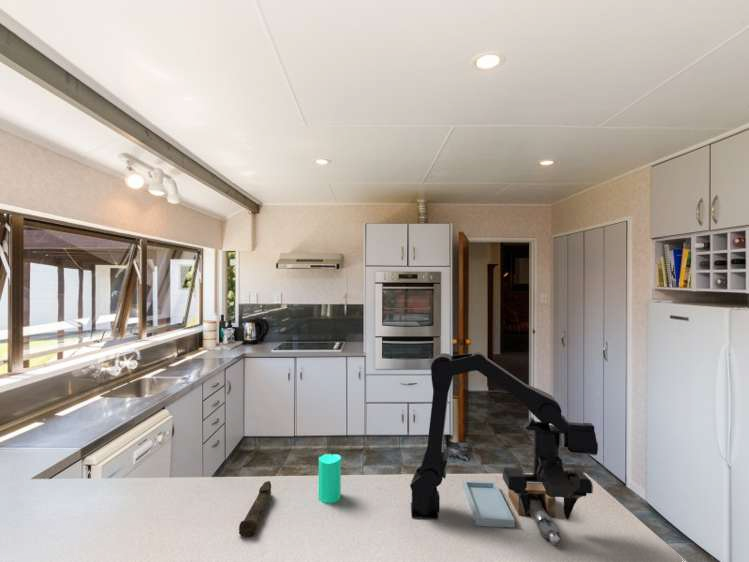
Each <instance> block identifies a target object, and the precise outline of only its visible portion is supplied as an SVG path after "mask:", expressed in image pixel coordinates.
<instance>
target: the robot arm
mask: <svg viewBox="0 0 749 562" xmlns="http://www.w3.org/2000/svg"><path fill="white" fill-rule="evenodd" d="M475 371H477V372H479V373H480V374H482V375H483V376H484V377H486V378H487V379H489V380H490V381H491V382H493V383H494V384H496V385H497V386H499V387H500V388H501V389H503V390H505V391H506V392H507V393H508V394H510V395H512V396H513V397H514V398H516V399H518V401H520V402H521V403H522V404H523V405H524V407H525V408H526V409H527V410H528V411H529V412H530V413H531V414H532V415H534V417H535V418H536V419H538V420H539V421H537V420H535V419H534V418H533V417H530V418H529V419H528V420H527V421H525V422H524V423H523V424H524V427H525V430H526V431H532V448H531V454H532V465H531V471H532V473H524V472H523V471H522V470H521V468H519V467H518V468H517V467H516V468H515V467H505V468H504V469H503V470H502V480H503V482H504V483H505V486H506V487H507V489H510V490H513V491H514V493H516V494H518V497H519V500H520V503H521V506H522V509H523V511H524V514H525V515H524V516H525V518H528V517H529V512H528V504H527V495H528V492H527V490H526V488H527V483H528V484H543V486H544V488H545V490H546V494H547V495H548V496H549V497H552V498H555V499H556V498H563V514H564V517H565V519H566V520H569V519H570V517H571V514H572V512H573V509H574V507H575V505H576V503H577V501H578V500H579V499H581V498H582V497H586V496H587V495H588V494H593V493H594V484H593V482H592V480H591V479H590V478H589V477H588V476H586V474H585V473H583V472H582V471H581V470H575V469H574V470H571V469H566V470H564V466H563V459H562V458H561V457H560V453H561V450H560V445H562V448H566V450H567V452H568V453H570V454H580V455H585V456H586V455H589V456H597V455H598V450H599V443H598V442H597V441H598V440H597V436H596V432H595V426H594V424H593V423H592V422H583V423H582V422H581V423H580V422H573V421H572V422H571V421H568V419H567V418H566V417H565V416H564V415H562V408H561V406H560V404H559V403H558V401H557V400H556V398H555V397H554V396H553V395H552V394H550V393H547V392H546V391H543V390H541V389H539V388H537V387H534V386H531V385H529V384H527V383H525V382H523V381H522V380H520V379H518V378H519V377H516V376H515V375H513V374H512V373H510V372H509V371H508V370H506V369H505V368H504V367H501V366H500V365H498V364H497V363H495V362H494V361H493V360H491V359H489V357H487V356H486V355H485V354H484V353H482V352H480V351H475V352H471V353H462V354H461V353H460V354H454V355H451V354H450V353H443V352H442V353H440V354H438V355H437V356H436V357H435V358H434V359H433V361H432V362H431V365H430V376H431V377H430V378H431V385H432V391H433V392H432V401H431V410H430V419H429V428H428V429H429V430H428V437H427V446H426V450H425V452H424V456H423V458H422V459H423V460H422V462H421V465H420V466H419V467H418V468H416V469H415V471H414V474H413V476H412V480H411V483H410V484H409V486H410V490H411V502H410V511H411V512H410V513H411V518H412V519H425V520H426V519H429V520H433V519H434V520H438V519H439V513H440V510H441V508H440V507H441V506H440V501H441V499H440V497H441V496H440V493H439V491H438V487H439V486H440V485H442V481H443V479H445V480H446V478H447V477H446V476H447V472H448V467H449V466H448V459H449V454H450V453H449V451H444V438H445V437H444V436H445V428H446V427H445V426H446V419H447V410H448V409H447V408H448V401H449V391H450V389H451V385H452V382H453V378H454V376H458V375H461V374H466V373H470V372H475ZM550 424H551V425H550ZM560 438H561V439H560ZM560 441H561V442H560ZM560 443H561V444H560Z"/></svg>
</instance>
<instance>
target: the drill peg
mask: <svg viewBox="0 0 749 562" xmlns="http://www.w3.org/2000/svg"><path fill="white" fill-rule="evenodd" d="M528 514H529V515H530V517H531V518H532V520H533V522H534V523H535V525H536V527H537V528H538V530H539V532H540V534H541V535H542V536H543V538H544V540H545V541H546V542H547V543H551V545H552V546H554V547H558V546H559V545H560V544H561V538H560V536H561V534H560V530H559V529H558V527H557V526H556V524H555V523H554V522H553V520H552V518H550V516H548V514H547V513H546V511H545V510H544V508H543V507H542V505H541V504H540V503H539V502H538V501H536V500H532V501H530V502H529V503H528Z"/></svg>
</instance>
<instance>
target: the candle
mask: <svg viewBox="0 0 749 562" xmlns="http://www.w3.org/2000/svg"><path fill="white" fill-rule="evenodd" d="M341 471H342V457H341V455H339V454H337V453H336V454H331V453H329V454H328V453H325V454H324V455H322V456H319V457H318V487H317V488H318V491H317V492H318V501H320V502H321V503H323V504H334V503H336V502H339V501H340V499H341V493H342V490H341V488H342V487H341V486H342V484H341V483H342V482H341V480H342V477H341V476H342V472H341Z"/></svg>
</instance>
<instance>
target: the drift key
mask: <svg viewBox="0 0 749 562" xmlns="http://www.w3.org/2000/svg"><path fill="white" fill-rule="evenodd" d="M532 500H536V501H538V502H539V503H540V504H541V501H540V499H539V498H538V496H537V495H536V494H534V493H528V495H527V504H528V503H529V502H530V501H532Z"/></svg>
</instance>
